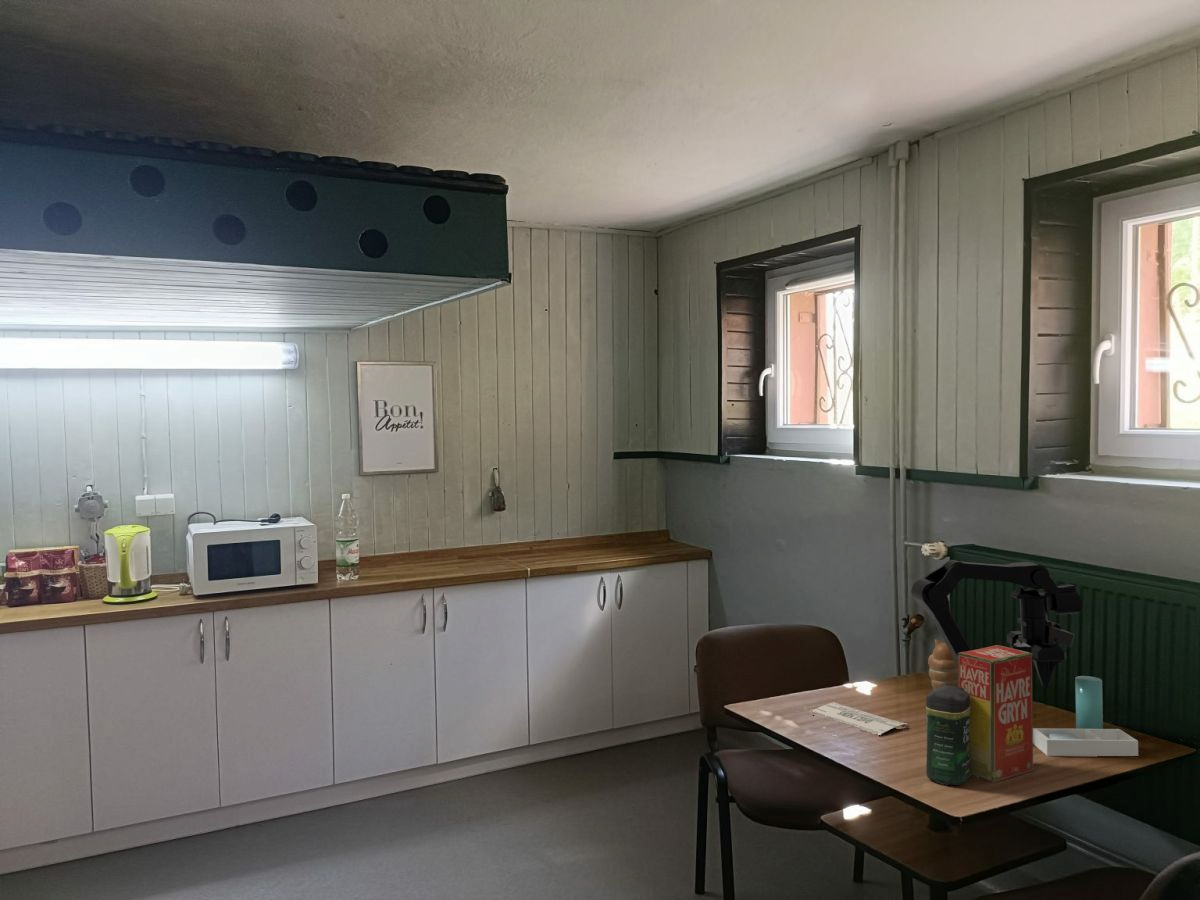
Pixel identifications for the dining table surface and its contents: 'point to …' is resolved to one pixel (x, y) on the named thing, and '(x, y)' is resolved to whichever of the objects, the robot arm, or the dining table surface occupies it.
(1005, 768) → the food packaging
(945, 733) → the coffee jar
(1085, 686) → the teal rounded block
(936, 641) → the cat ice cream
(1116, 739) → the rack
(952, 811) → the dining table surface
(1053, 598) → the robot arm
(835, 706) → the newspaper
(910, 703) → the dining table surface
